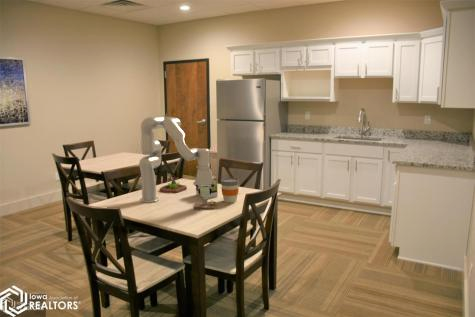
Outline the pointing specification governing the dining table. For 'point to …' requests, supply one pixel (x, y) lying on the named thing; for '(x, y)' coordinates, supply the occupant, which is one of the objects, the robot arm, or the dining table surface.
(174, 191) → the plant
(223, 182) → the reusable coffee cup
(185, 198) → the dining table surface
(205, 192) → the collar
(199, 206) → the post board
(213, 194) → the tea box
